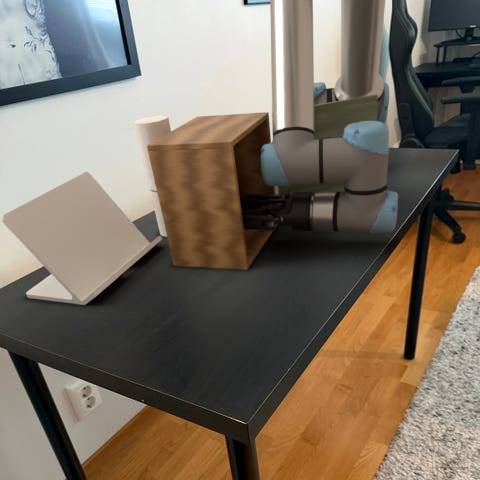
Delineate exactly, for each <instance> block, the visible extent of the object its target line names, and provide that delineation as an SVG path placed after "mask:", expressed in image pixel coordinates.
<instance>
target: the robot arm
mask: <svg viewBox="0 0 480 480" xmlns="http://www.w3.org/2000/svg"><path fill="white" fill-rule="evenodd" d="M269 5H270V6H269V7H270V9H269V10H270V57H271V58H270V63H271V64H270V66H271V120H272V121H271V122H272V124H271V125H272V140H271V143H269V144H265V145H263V147H262V149H261V171H262V177H263V180H264V182H265V183H266V184H267V185H269V186H275V187H278V186H288V187H289V186H294V185H304V184H316V183H335V182H344V191H345V192H337V191H318V192H316V194H315V195H314V193H313V192H296V193H294V195H293V197H292V200H291V194H288V193H287V194H280V195H278V194H276V195H274V194H246V195H245V197H241V198H240V204H241V212H242V220H243V228H244V229H259V230H268V231H273V232H274V231H276V228H275V225H277V226H278V225H286V224H289V225H290V226H291V228H292V230H293V231H295V232H311V231H313V230H314V231H315V232H326V234H331V233H332V232H333V233H357V234H360V233H361V234H369V235H371V234H385V233H387V234H388V233H391V232H393V231H394V230H395V228H396V227H397V221H398V210H399V194H398V192H397V191H393V190H388V167H389V154H390V148H389V146H390V145H389V143H390V142H389V141H390V139H389V136H390V135H389V134H390V133H389V132H390V131H389V130H390V129H389V127H388V126H387V125H386V122H387V117H388V113H389V109H388V108H389V105H390V87H389V83H388V82H384V79H383V77H382V76H381V74H379V73H380V72H379V70H380V62H381V52H382V40H383V33H384V31H383V30H384V20H385V10H386V9H385V8H386V0H340V76H339V77H338V79H337V80H336V82H335V84H334V87H329V88H328V87H327V85H326V83H325V82H322V81H319V82H315V74H314V73H315V72H314V71H315V68H314V67H315V66H314V65H315V64H314V1H313V0H269ZM370 95H378V106H377V121H361V122H358V123H352V124H349V125H347V126H346V127H345V129H344V134H343V137H341V138H330V139H319V140H314V105H317V104H323V103H329V102H335V101H341V100H347V99H352V98H358V97H364V96H370ZM265 213H266V215H265Z"/></svg>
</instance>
